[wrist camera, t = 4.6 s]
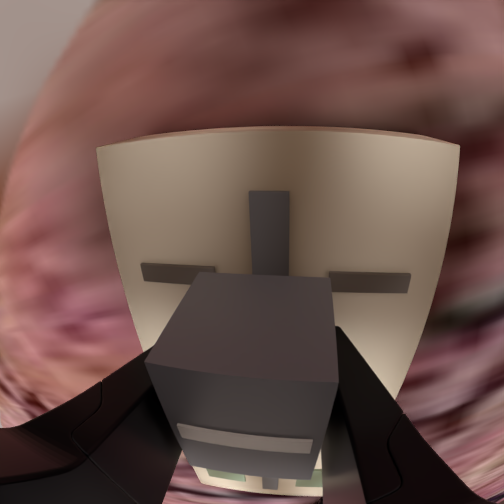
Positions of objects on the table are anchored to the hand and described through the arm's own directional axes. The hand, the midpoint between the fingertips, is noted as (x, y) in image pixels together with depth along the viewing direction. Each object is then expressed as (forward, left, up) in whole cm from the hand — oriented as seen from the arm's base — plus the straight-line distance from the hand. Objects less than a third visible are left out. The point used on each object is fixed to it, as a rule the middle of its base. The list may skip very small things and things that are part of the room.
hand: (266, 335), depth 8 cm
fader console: (0, +6, -4) cm, 7 cm away
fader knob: (0, 0, -1) cm, 1 cm away
